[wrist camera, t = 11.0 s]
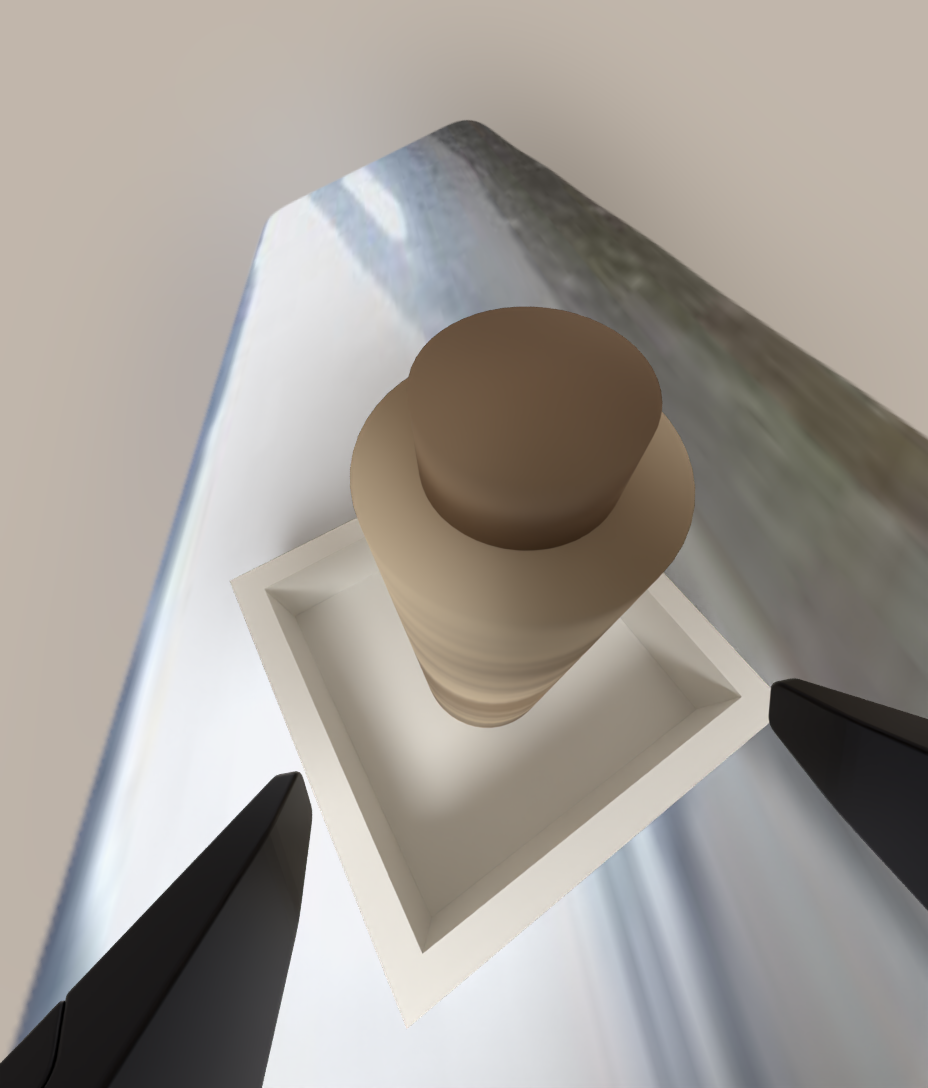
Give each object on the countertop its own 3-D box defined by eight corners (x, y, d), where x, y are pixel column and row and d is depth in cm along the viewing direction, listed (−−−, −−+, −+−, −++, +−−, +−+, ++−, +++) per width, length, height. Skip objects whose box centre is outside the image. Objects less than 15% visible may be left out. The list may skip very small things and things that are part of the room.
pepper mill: (506, 755, 16) (649, 687, 3) (401, 679, 18) (228, 428, 5) (567, 646, 18) (804, 345, 5) (469, 585, 19) (473, 229, 7)
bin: (422, 964, 14) (406, 1029, 10) (272, 615, 20) (229, 581, 16) (723, 720, 17) (787, 706, 14) (521, 482, 23) (531, 430, 20)
